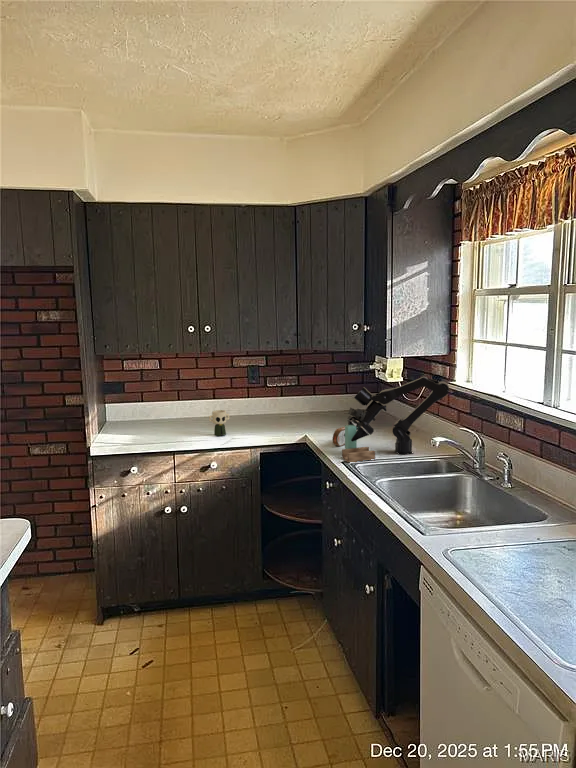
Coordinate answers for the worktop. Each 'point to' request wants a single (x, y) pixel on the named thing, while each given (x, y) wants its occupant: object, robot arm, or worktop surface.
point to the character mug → (219, 421)
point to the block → (350, 436)
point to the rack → (357, 454)
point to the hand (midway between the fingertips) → (348, 438)
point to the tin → (339, 437)
